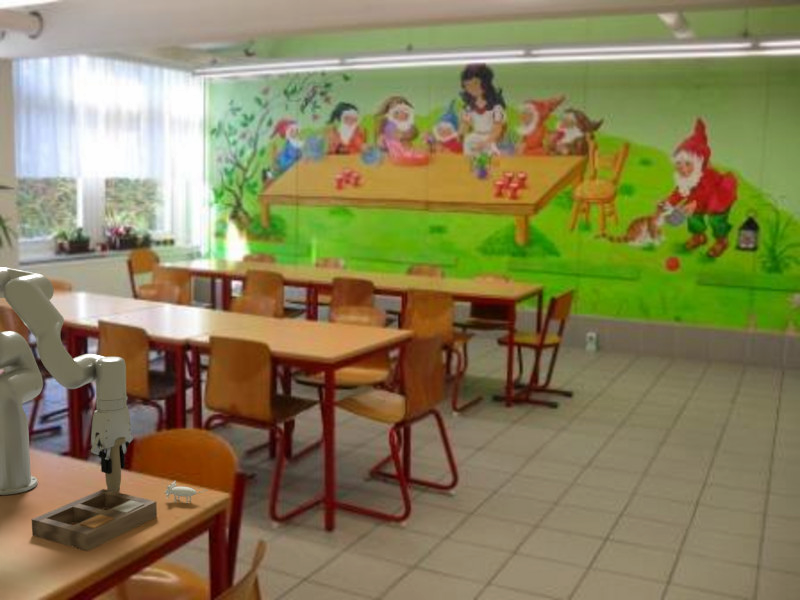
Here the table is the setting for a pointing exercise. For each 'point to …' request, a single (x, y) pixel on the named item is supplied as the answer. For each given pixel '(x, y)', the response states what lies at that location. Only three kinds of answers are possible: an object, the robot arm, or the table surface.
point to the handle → (115, 467)
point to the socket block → (94, 519)
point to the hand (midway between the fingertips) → (113, 469)
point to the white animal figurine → (180, 491)
